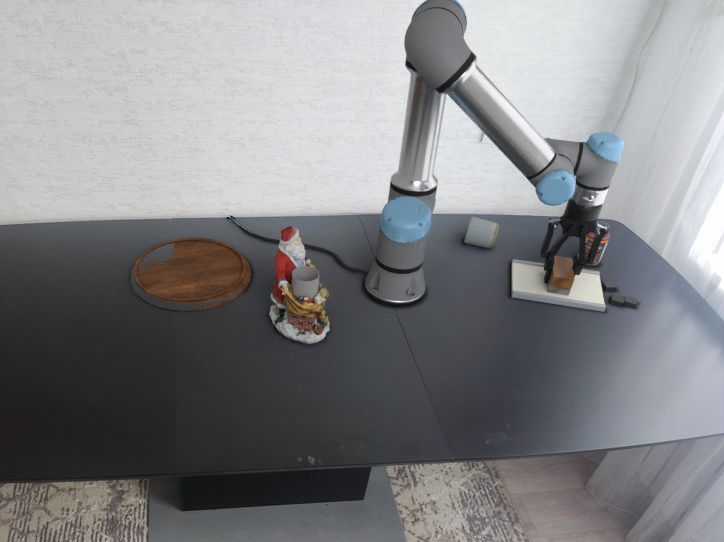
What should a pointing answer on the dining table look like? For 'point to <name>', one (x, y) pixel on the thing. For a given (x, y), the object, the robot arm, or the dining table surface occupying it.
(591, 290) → the whiteboard
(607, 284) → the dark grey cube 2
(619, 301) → the grey block
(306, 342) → the santa figurine
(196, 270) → the cutting board
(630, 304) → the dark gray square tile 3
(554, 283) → the eraser
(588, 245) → the supplement bottle
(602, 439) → the dining table surface
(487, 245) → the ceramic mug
